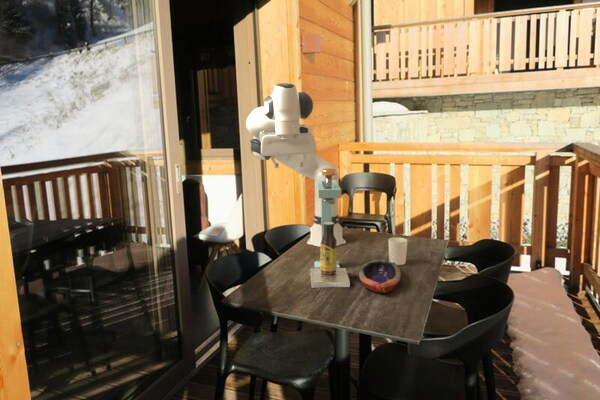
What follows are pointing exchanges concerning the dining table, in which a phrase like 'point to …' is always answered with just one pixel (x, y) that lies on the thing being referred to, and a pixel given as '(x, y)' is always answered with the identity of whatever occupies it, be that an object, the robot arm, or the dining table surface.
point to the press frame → (326, 206)
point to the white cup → (397, 250)
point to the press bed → (329, 278)
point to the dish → (380, 275)
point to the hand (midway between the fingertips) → (289, 167)
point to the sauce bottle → (328, 250)
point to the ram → (328, 183)
